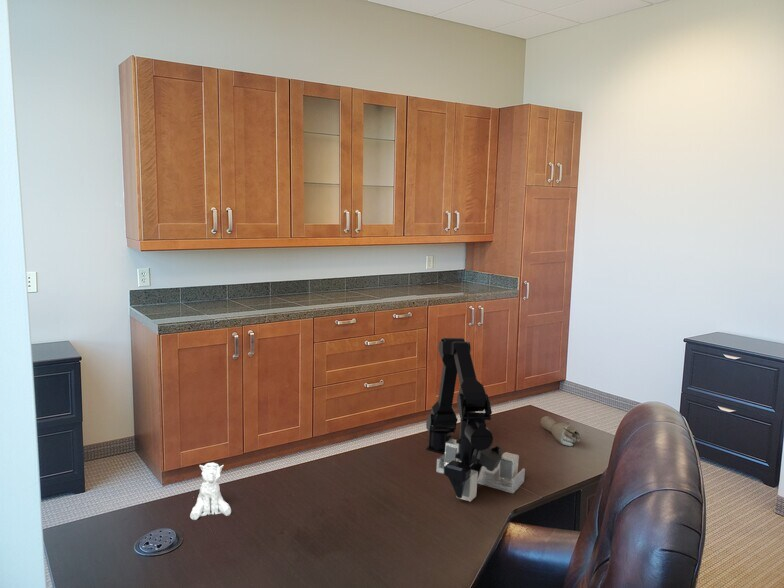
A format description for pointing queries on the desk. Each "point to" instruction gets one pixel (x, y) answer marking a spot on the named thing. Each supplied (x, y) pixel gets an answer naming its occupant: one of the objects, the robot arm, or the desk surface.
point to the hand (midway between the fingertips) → (466, 491)
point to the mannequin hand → (561, 431)
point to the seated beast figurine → (210, 494)
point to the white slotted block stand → (499, 478)
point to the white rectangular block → (470, 487)
